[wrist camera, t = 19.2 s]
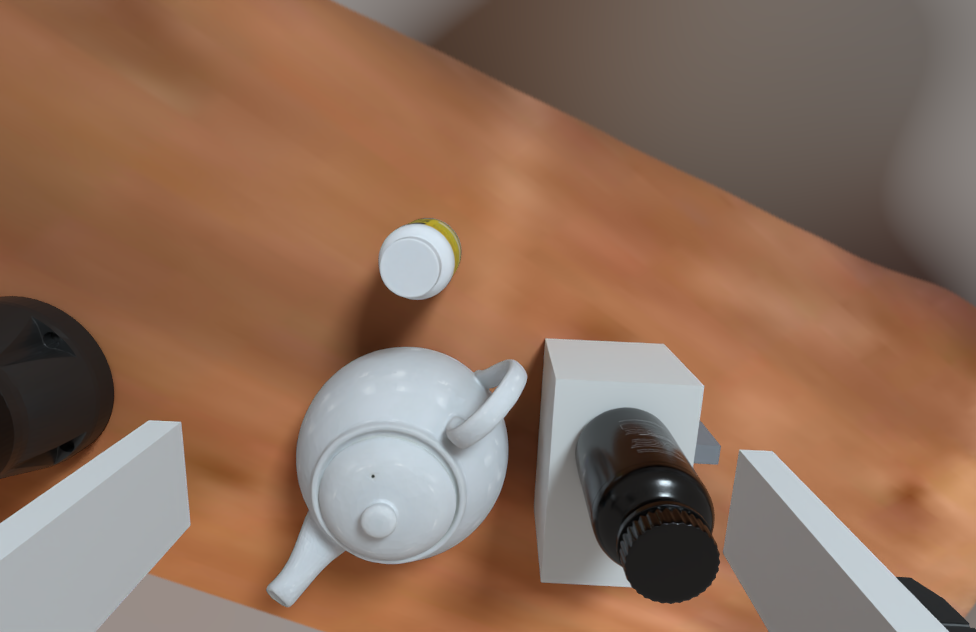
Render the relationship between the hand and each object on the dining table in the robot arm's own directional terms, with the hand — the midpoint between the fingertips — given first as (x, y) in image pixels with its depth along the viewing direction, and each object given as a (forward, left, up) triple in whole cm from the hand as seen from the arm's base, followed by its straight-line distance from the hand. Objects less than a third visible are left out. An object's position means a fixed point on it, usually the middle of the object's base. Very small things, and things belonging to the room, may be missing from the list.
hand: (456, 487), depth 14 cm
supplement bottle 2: (+10, -11, -25) cm, 29 cm away
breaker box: (+12, -14, -35) cm, 39 cm away
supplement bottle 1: (-5, +1, -35) cm, 35 cm away
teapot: (-6, -15, -35) cm, 39 cm away
